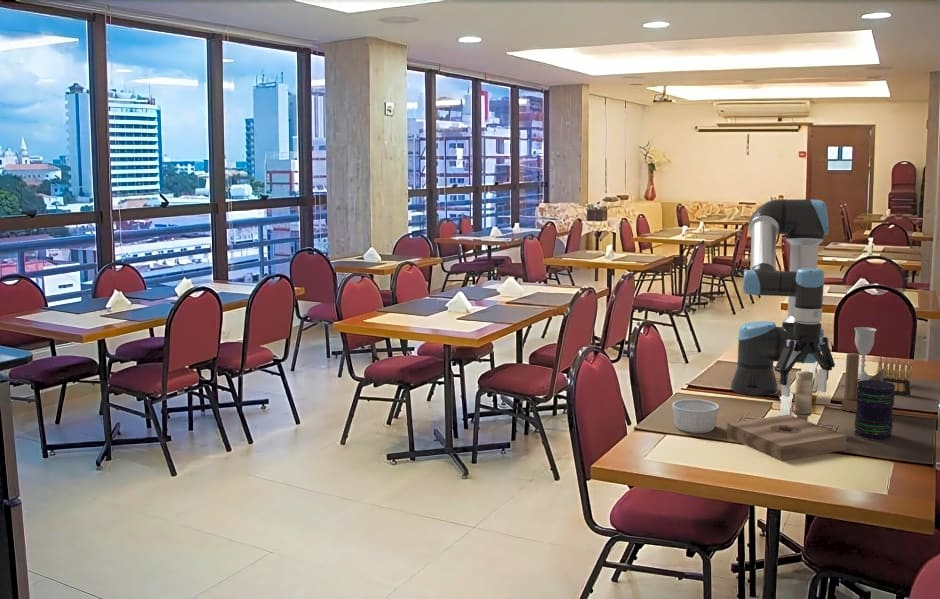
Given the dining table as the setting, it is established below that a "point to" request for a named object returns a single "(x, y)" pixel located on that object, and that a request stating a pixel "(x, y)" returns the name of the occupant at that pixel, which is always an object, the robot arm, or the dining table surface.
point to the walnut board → (786, 437)
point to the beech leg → (803, 394)
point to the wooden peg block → (854, 382)
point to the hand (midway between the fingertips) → (803, 393)
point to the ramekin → (695, 415)
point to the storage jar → (874, 409)
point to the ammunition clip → (897, 375)
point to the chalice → (864, 346)
